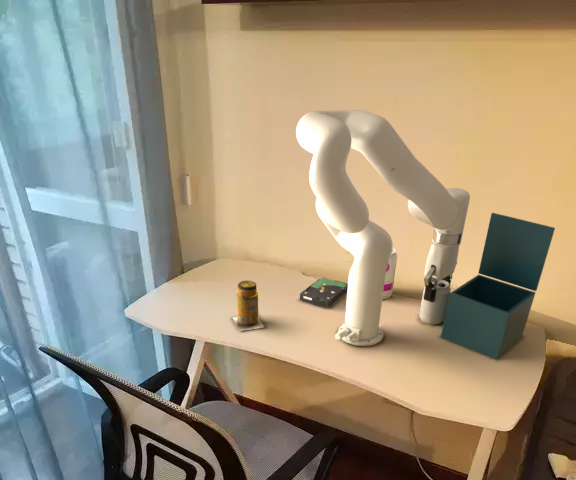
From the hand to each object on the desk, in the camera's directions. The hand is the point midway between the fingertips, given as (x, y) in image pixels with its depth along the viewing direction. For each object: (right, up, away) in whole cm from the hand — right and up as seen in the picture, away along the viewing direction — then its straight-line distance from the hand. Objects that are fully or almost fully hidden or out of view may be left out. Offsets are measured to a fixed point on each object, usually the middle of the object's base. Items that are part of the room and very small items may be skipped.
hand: (436, 295), depth 157 cm
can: (0, -7, +5) cm, 8 cm away
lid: (+17, +10, -12) cm, 23 cm away
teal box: (+12, -12, -3) cm, 17 cm away
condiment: (-54, -8, +2) cm, 55 cm away
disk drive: (-31, +2, +17) cm, 35 cm away
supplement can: (-14, +3, +18) cm, 23 cm away
